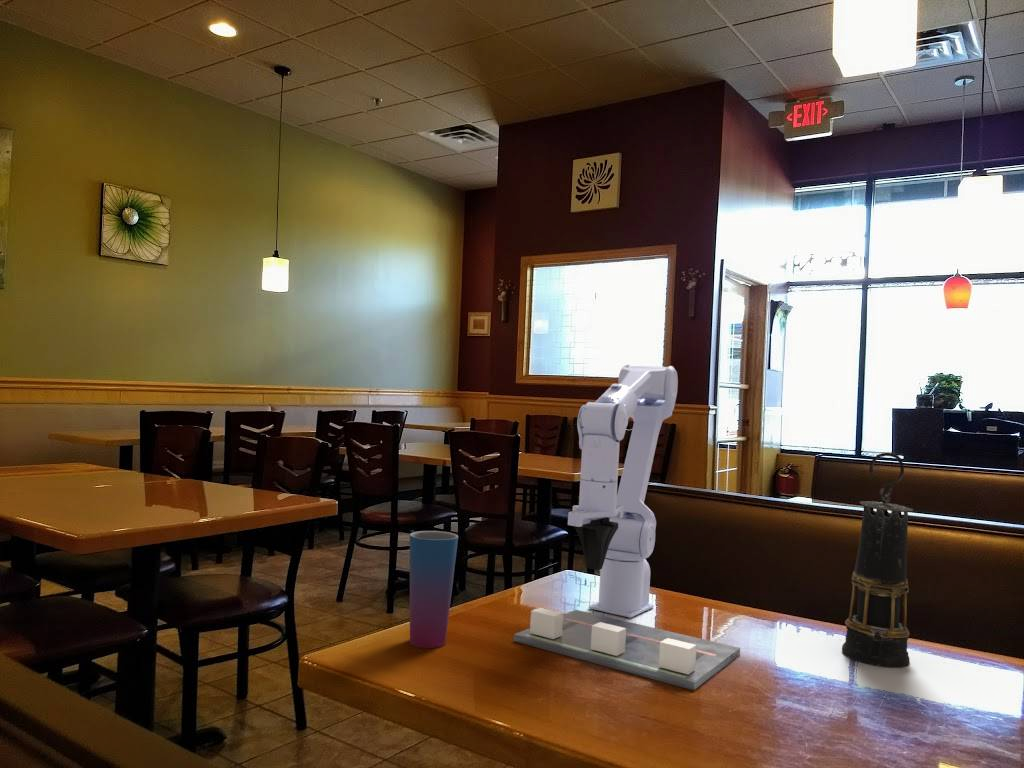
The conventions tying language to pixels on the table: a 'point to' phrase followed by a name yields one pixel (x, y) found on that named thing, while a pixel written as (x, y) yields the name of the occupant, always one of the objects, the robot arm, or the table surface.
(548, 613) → the breaker
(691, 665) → the block
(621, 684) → the table surface
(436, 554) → the cup
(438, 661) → the table surface
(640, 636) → the panel
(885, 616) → the lantern
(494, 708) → the table surface
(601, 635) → the breaker mid
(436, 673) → the table surface
